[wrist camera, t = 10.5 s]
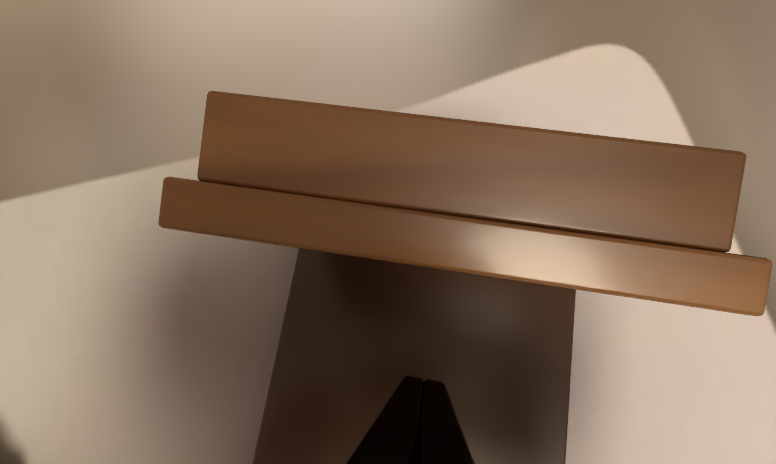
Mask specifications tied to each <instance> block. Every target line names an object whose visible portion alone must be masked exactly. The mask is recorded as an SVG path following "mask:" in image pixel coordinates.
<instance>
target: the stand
mask: <svg viewBox="0 0 776 464" xmlns="http://www.w3.org/2000/svg"><path fill="white" fill-rule="evenodd" d="M575 294H576V289H570V288H563V287H557V286H550V285H543V284H537V283H530V282H523V281H516V280H510V279H503V278H496V277H490V276H483V275H476V274H469V273H463V272H456V271H449V270H443V269H436V268H429V267H423V266H416V265H409V264H402V263H396V262H389V261H382V260H376V259H369V258H362V257H355V256H349V255H342V254H335V253H329V252H322V251H315V250H309V249H302V248H299V251H298V256H297V261H296V265H295V270H294V275H293V279H292V284H291V289H290V293H289V298H288V302H287V307H286V312H285V316H284V321H283V326H282V330H281V335H280V340H279V344H278V349H277V354H276V358H275V363H274V368H273V372H272V377H271V381H270V386H269V391H268V395H267V400H266V405H265V409H264V414H263V419H262V423H261V428H260V433H259V437H258V442H257V447H256V451H255V456H254V460H253V464H345V463H346V461H347V460H348V458H349V457H350V455H351V454H352V452H353V451H354V449H355V448H356V446H357V445H358V444H359V442H360V441H361V439H362V438H363V436H364V435H365V433H366V432H367V430H368V429H369V427H370V426H371V424H372V423H373V421H374V420H375V419H376V417H377V416H378V414H379V413H380V411H381V410H382V408H383V407H384V405H385V404H386V402H387V401H388V399H389V398H390V396H391V395H392V393H393V392H394V391H395V389H396V388H397V386H398V385H399V383H400V382H401V380H402V379H403V378H404V377H405V376H406V375H409V376H415V377H420V378H422V379H423V380H424V381H425V380H426V379H432V380H438V381H442V382H443V383H444V384H445V386H446V388H447V391H448V393H449V396H450V399H451V401H452V404H453V406H454V409H455V412H456V414H457V417H458V419H459V422H460V425H461V427H462V430H463V432H464V435H465V438H466V440H467V443H468V445H469V448H470V451H471V453H472V456H473V458H474V461H475V464H565V458H566V442H567V425H568V409H569V392H570V376H571V359H572V343H573V327H574V310H575Z"/></svg>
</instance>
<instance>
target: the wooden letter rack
mask: <svg viewBox="0 0 776 464" xmlns="http://www.w3.org/2000/svg"><path fill="white" fill-rule="evenodd" d="M745 161H746V154H745V153H742V152H739V151H730V150H721V149H712V148H704V147H696V146H687V145H678V144H670V143H661V142H652V141H643V140H635V139H626V138H617V137H609V136H600V135H591V134H583V133H574V132H565V131H556V130H548V129H539V128H530V127H522V126H513V125H504V124H496V123H487V122H478V121H469V120H461V119H452V118H443V117H435V116H426V115H417V114H409V113H400V112H391V111H382V110H374V109H364V108H356V107H348V106H339V105H329V104H321V103H313V102H304V101H295V100H287V99H278V98H269V97H260V96H252V95H243V94H234V93H226V92H217V91H210V92H208V94H207V101H206V109H205V118H204V126H203V134H202V142H201V151H200V159H199V167H198V175H197V176H198V179H199V180H200V181H197V180H189V179H182V178H175V177H166V178H165V179H164V181H163V189H162V198H161V206H160V215H159V226H161V227H163V228H168V229H174V230H181V231H188V232H194V233H201V234H208V235H215V236H221V237H228V238H235V239H241V240H248V241H255V242H262V243H268V244H275V245H282V246H288V247H295V248H302V249H309V250H315V251H322V252H329V253H335V254H342V255H349V256H355V257H362V258H369V259H376V260H382V261H389V262H396V263H402V264H409V265H416V266H423V267H429V268H436V269H443V270H449V271H456V272H463V273H469V274H476V275H483V276H490V277H496V278H503V279H510V280H516V281H523V282H530V283H537V284H543V285H550V286H557V287H563V288H570V289H577V290H583V291H590V292H597V293H604V294H610V295H617V296H624V297H630V298H637V299H644V300H651V301H657V302H664V303H671V304H677V305H684V306H691V307H698V308H704V309H711V310H718V311H724V312H731V313H738V314H744V315H751V316H761V315H763V313H764V310H765V304H766V298H767V293H768V287H769V281H770V275H771V270H772V261H770V260H768V259H766V258H760V257H752V256H746V255H738V254H731V253H725V252H728V251H729V250H730V249H731V244H732V238H733V232H734V226H735V220H736V214H737V208H738V202H739V196H740V190H741V184H742V179H743V173H744V167H745Z"/></svg>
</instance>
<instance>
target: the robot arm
mask: <svg viewBox="0 0 776 464" xmlns="http://www.w3.org/2000/svg"><path fill="white" fill-rule="evenodd" d="M345 464H475V461H474V458H473V456H472V453H471V451H470V448H469V445H468V443H467V440H466V438H465V435H464V432H463V430H462V427H461V425H460V422H459V419H458V417H457V414H456V412H455V409H454V406H453V404H452V401H451V399H450V396H449V393H448V391H447V388H446V386H445V384H444V383H443V382H442V381H438V380H432V379H426V380H425V381H424V380H423V379H422V378H420V377H415V376H409V375H406V376H405V377H404V378H403V379H402V380H401V382H400V383H399V385H398V386H397V388H396V389H395V391H394V392H393V393H392V395H391V396H390V398H389V399H388V401H387V402H386V404H385V405H384V407H383V408H382V410H381V411H380V413H379V414H378V416H377V417H376V419H375V420H374V421H373V423H372V424H371V426H370V427H369V429H368V430H367V432H366V433H365V435H364V436H363V438H362V439H361V441H360V442H359V444H358V445H357V446H356V448H355V449H354V451H353V452H352V454H351V455H350V457H349V458H348V460H347V461H346V463H345Z"/></svg>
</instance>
